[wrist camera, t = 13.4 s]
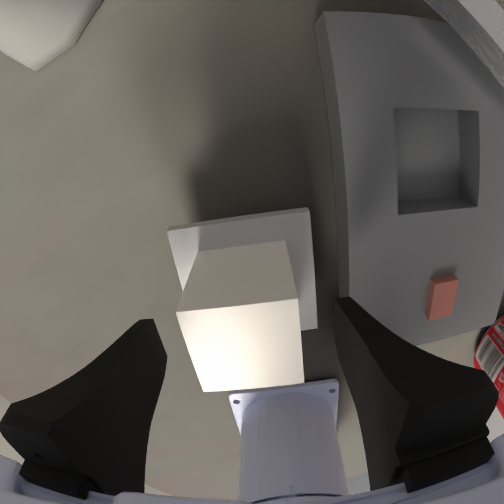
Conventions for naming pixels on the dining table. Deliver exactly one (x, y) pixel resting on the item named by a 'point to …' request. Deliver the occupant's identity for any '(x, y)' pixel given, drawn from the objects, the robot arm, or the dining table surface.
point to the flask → (42, 28)
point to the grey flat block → (414, 172)
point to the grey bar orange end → (477, 29)
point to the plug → (246, 297)
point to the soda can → (493, 358)
